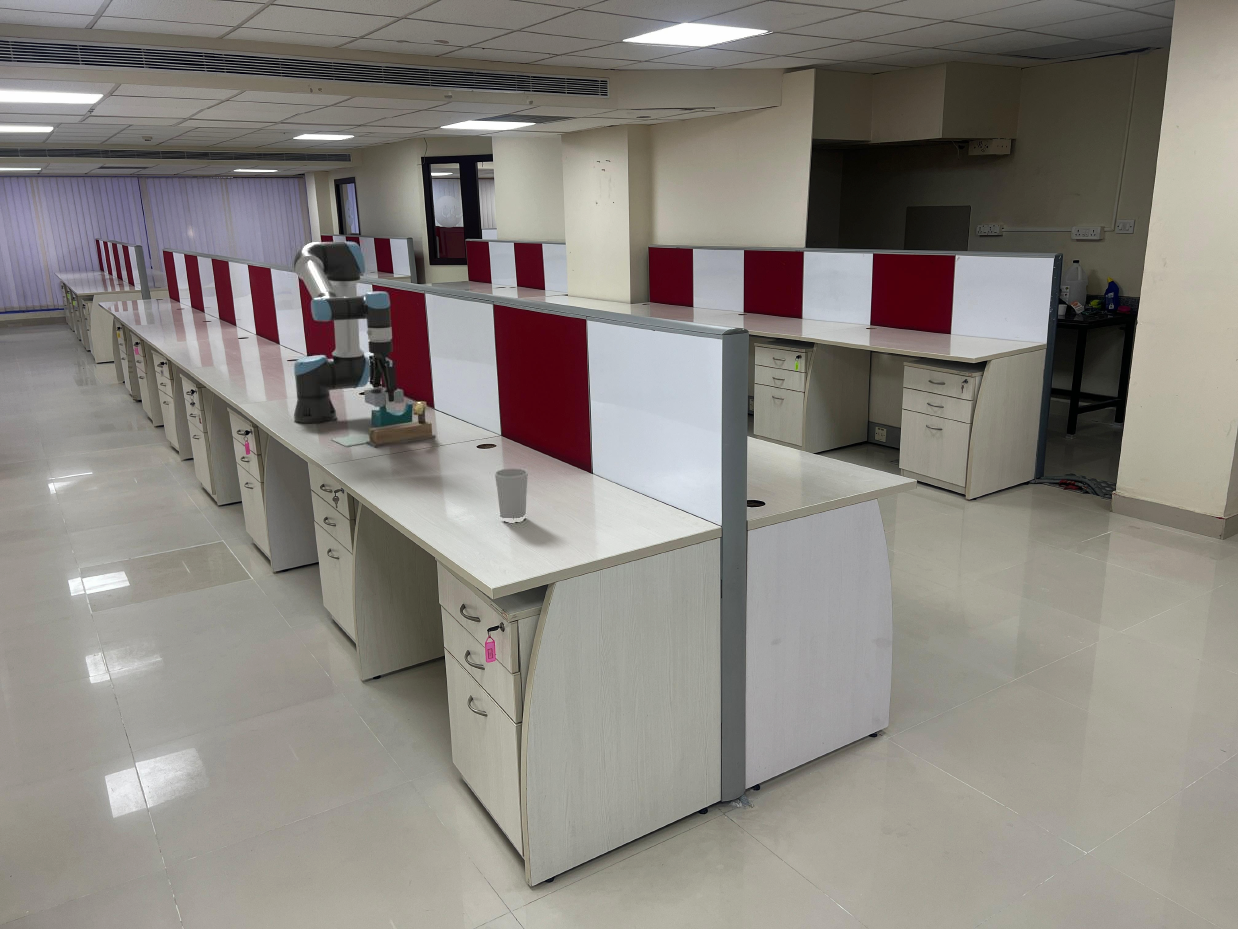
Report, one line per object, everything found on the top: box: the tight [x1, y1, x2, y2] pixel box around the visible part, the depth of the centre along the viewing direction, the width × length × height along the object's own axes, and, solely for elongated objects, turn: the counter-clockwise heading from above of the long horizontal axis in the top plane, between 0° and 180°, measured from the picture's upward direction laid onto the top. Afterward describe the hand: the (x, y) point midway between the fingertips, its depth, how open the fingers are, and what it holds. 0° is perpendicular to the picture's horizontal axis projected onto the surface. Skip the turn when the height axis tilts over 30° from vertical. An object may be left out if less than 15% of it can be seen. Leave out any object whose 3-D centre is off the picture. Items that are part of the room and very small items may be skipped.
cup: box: [494, 467, 529, 519], centre depth 217 cm, size 8×8×12 cm
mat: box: [331, 433, 370, 448], centre depth 299 cm, size 12×12×1 cm
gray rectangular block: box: [363, 387, 405, 407], centre depth 292 cm, size 8×10×4 cm
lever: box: [413, 401, 427, 416], centre depth 296 cm, size 4×13×2 cm, turn 7°
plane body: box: [365, 409, 437, 448], centre depth 298 cm, size 7×22×10 cm, turn 130°
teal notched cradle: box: [370, 402, 414, 428], centre depth 316 cm, size 18×11×10 cm, turn 25°
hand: (384, 408), depth 293 cm, fingers closed on gray rectangular block, 8 cm apart
